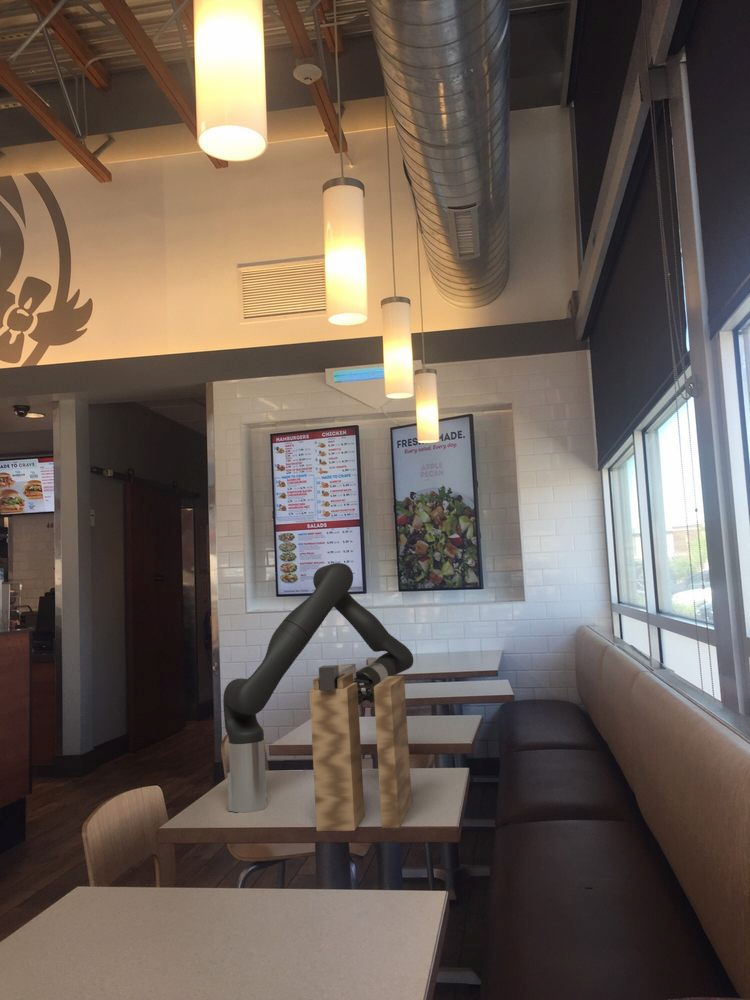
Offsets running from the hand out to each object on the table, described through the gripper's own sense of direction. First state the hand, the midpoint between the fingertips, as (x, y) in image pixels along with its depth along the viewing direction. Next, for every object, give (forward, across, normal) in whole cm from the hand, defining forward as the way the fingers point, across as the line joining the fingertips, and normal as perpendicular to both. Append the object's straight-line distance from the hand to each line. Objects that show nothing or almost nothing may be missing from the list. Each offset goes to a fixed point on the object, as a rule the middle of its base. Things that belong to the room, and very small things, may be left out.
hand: (340, 699), depth 218 cm
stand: (+14, +15, +22) cm, 30 cm away
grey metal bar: (+9, +5, -9) cm, 14 cm away
